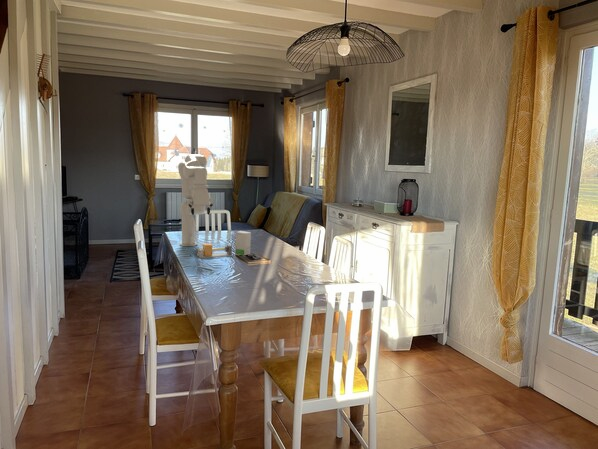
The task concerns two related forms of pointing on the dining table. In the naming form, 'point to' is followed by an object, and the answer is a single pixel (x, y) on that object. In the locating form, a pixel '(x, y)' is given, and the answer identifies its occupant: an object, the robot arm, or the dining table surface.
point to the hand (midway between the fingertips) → (200, 214)
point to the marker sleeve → (207, 249)
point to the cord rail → (226, 249)
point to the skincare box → (242, 243)
